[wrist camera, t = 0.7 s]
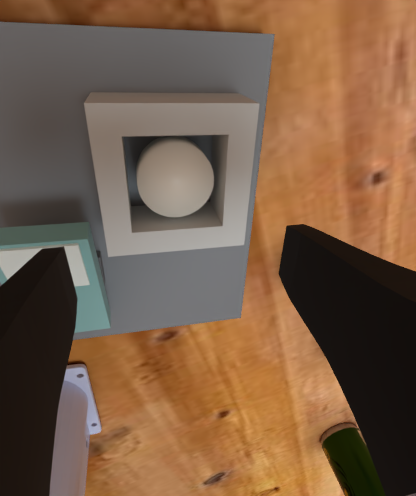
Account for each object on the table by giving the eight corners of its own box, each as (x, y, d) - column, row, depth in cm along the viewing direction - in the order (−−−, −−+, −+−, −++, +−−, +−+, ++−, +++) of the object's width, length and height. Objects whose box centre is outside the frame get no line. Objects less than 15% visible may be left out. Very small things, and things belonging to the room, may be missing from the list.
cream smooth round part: (206, 202, 18) (212, 214, 16) (139, 206, 17) (140, 219, 16) (208, 134, 16) (215, 142, 15) (132, 135, 15) (133, 144, 14)
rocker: (110, 312, 22) (110, 330, 21) (37, 320, 21) (34, 340, 20) (88, 221, 16) (87, 241, 15) (-14, 228, 15) (-22, 249, 14)
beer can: (345, 416, 40) (417, 539, 31) (363, 428, 43) (434, 543, 33) (311, 439, 42) (369, 563, 32) (330, 448, 44) (389, 565, 35)
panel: (235, 304, 26) (253, 348, 22) (16, 331, 23) (-5, 388, 19) (263, 34, 16) (303, 33, 13) (-111, 17, 13) (-202, 9, 9)
